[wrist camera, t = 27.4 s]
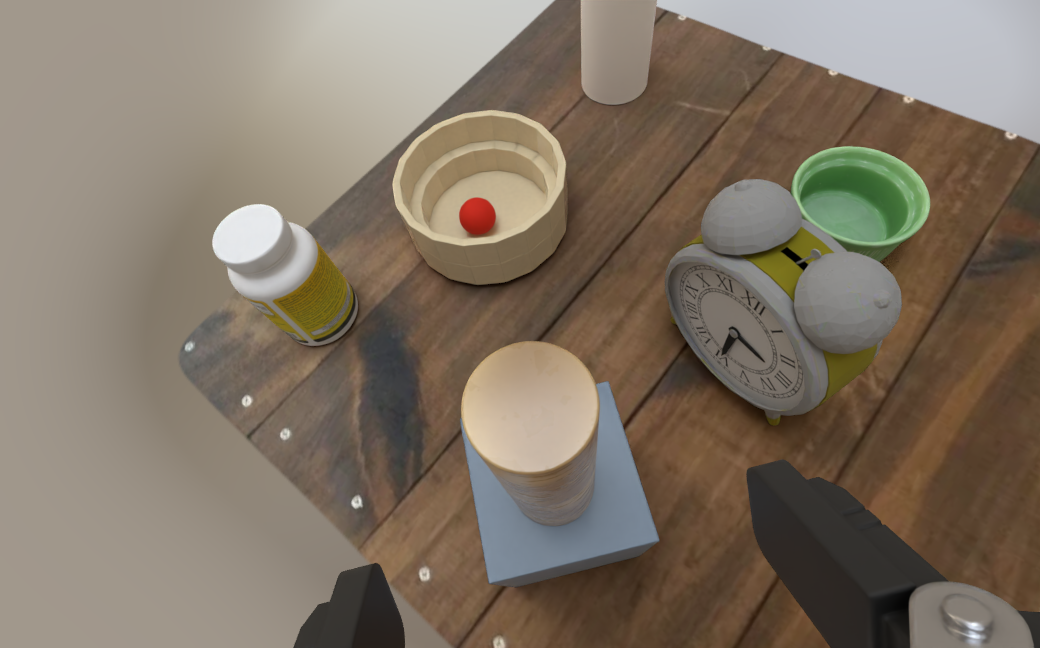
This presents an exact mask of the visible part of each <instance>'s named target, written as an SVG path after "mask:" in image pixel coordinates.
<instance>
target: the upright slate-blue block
mask: <svg viewBox="0 0 1040 648" xmlns="http://www.w3.org/2000/svg"><path fill="white" fill-rule="evenodd" d="M596 386H597V389H598V393H599V399H600V414H599V427H598V441H597V455H596V468H595V482H594V492H593V496H592V499H591V502H590V504H589V506H588V507H587V509H586V510H585V511H584V512H583V514H582V515H581V516H579V517H578V518H577V519H575V520H574V521H572V522H570V523H568V524H565V525H560V526H545V525H542V524H539V523H536V522H534V521H532V520H531V519H529V518H528V517H527V516H525V515H524V513H523V512H522V511H521V510H520V509H519V507H518V506H517V505H516V503H515V502H514V501H513V499H512V498H511V497H510V496H509V494H508V493H507V492H506V490H505V489H504V488H503V486H502V485H501V484H500V482H499V481H498V480H497V478H496V477H495V476H494V474H493V473H492V472H491V470H490V469H489V468H488V466H487V465H486V464H485V462H484V461H483V460H482V458H481V457H480V456H479V454H478V453H477V452H476V450H475V449H474V448H473V446H472V445H471V443H470V442H469V440H468V438H467V436H466V433H465V430H464V427H463V423H462V418H460V423H461V428H462V434H463V440H464V445H465V451H466V457H467V463H468V468H469V474H470V480H471V485H472V491H473V497H474V502H475V508H476V514H477V519H478V525H479V531H480V537H481V542H482V548H483V554H484V559H485V565H486V571H487V576H488V582H489V584H494V585H501V586H509V587H519V586H523V585H527V584H531V583H535V582H539V581H543V580H547V579H551V578H555V577H559V576H563V575H567V574H571V573H575V572H579V571H583V570H587V569H591V568H595V567H599V566H603V565H607V564H611V563H615V562H618V561H622V560H626V559H630V558H634V557H638V556H640V555H642V554H643V553H644V552H646V551H647V550H648V549H649V548H651V547H652V546H653V545H655V544H656V543H657V542H659V537H658V533H657V530H656V527H655V524H654V521H653V518H652V515H651V512H650V509H649V506H648V503H647V499H646V496H645V493H644V490H643V487H642V484H641V481H640V478H639V475H638V472H637V468H636V465H635V462H634V459H633V456H632V453H631V450H630V447H629V444H628V441H627V437H626V434H625V431H624V428H623V425H622V422H621V419H620V416H619V413H618V410H617V406H616V403H615V400H614V397H613V394H612V391H611V388H610V385H609V382H608V381H607V382H603V383H599V384H596Z"/></svg>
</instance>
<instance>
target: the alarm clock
mask: <svg viewBox="0 0 1040 648" xmlns="http://www.w3.org/2000/svg"><path fill="white" fill-rule="evenodd" d="M701 233H702V234H701V235H700V236H698V237H697V238H695V239H694V240H692V241H691V242H690V243H688V244H687V245H685V246H684V247H682V248H681V249H680V250H679V251H678V253H677V254H676V255H675V256H674V257H673V258H672V259H671V260H670V263H669V265H668V267H667V271H666V276H665V293H666V296H667V300H668V303H669V307H670V310H671V313H672V318H671V322H672V323H673V324H675V325H677V326H678V328H679V330H680V332H681V334H682V335H683V337H684V338H685V340H686V341H687V343H688V344H689V346H690V347H691V349H692V350H693V352H694V353H695V355H696V356H697V357H698V358H699V359H700V360H701V362H702V363H703V364H704V365H705V366H706V367H707V368H708V370H709V371H710V372H711V373H712V374H714V375H715V376H716V377H717V378H718V379H719V380H720V381H721V382H722V383H723V384H724V385H725V386H726V387H727V388H729V389H730V390H731V391H732V392H734V393H735V394H737V395H739V396H740V397H742V398H743V399H745V400H746V401H748V402H749V403H751V404H752V405H754V406H755V407H758V408H760V409H763V410H764V411H765V414H766V418H767V420H768V423H769V424H770V425H774V426H775V425H778V424H779V422H780V418H781V415H786V416H790V415H801V414H804V413H806V412H808V411H811V410H813V409H815V408H816V407H818V406H820V405H821V404H823V403H824V402H825V401H827V400H828V399H829V398H830V397H832V396H833V395H834V394H835V393H837V392H838V391H839V390H841V389H842V388H843V387H844V386H846V385H847V384H848V383H849V382H851V381H852V380H853V379H854V378H856V377H857V376H858V375H860V374H861V373H862V372H863V371H865V370H866V368H867V367H868V366H869V365H870V364H871V362H872V361H873V359H874V358H875V357H876V356H877V355H878V352H879V349H880V346H881V344H882V340H883V339H884V338H885V337H886V336H888V334H889V333H890V331H891V330H892V328H893V327H894V325H895V324H896V323H897V321H898V319H899V315H900V311H901V306H902V301H901V290H900V288H899V286H898V284H897V282H896V280H895V278H894V276H893V275H892V274H891V273H890V272H889V271H888V270H887V268H885V267H884V266H883V265H882V264H881V263H880V262H878V261H876V260H874V259H872V258H870V257H868V256H864V255H862V254H859V253H854V252H847V251H846V249H844V248H843V247H842V246H841V245H840V244H839V243H838V242H837V241H835V240H834V239H833V238H832V237H831V236H830V235H828V234H827V233H825V232H824V231H823V230H821V229H820V228H818V227H817V226H815V225H814V224H812V223H811V222H808V221H806V220H804V219H802V215H801V211H800V208H799V206H798V204H797V201H796V200H795V199H794V197H793V196H792V195H791V194H790V193H789V191H787V190H786V189H784V188H783V187H781V186H780V185H778V184H777V183H774V182H770V181H766V180H761V179H755V180H741V181H740V182H737V183H735V184H732V185H730V186H728V187H726V188H724V189H723V190H722V191H721V192H720V193H719V194H718V195H717V196H716V197H715V198H714V199H713V200H712V201H711V202H710V203H709V205H708V206H707V208H706V211H705V213H704V216H703V220H702V223H701Z"/></svg>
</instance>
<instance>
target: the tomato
mask: <svg viewBox="0 0 1040 648" xmlns="http://www.w3.org/2000/svg"><path fill="white" fill-rule="evenodd" d="M459 220H460V223H461V225H462V227H463V228H464V229H465V230H466V231H467V232H469V233H471V234H474V235H481V234H485V233H487V232H488V231H489V230H491V228H492V227H493V226H494V223H495V220H496V213H495V209H494V207H493V206H492V204H491V203H490V202H489V201H487V200H486V199H483V198H479V197H475V198H471V199H469V200H467V201H466V202H465V203H464V204H463V205H462V206H461V209H460V212H459Z"/></svg>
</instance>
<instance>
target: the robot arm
mask: <svg viewBox="0 0 1040 648" xmlns="http://www.w3.org/2000/svg"><path fill="white" fill-rule="evenodd" d="M747 484H748V491H749V499H750V507H751V515H752V522H753V529H754V533H755V537H756V539H757V542H758V545H759V547H760V549H761V551H762V553H763V555H764V556H765V558H766V559H767V561H768V562H769V564H770V565H771V566H772V568H773V569H774V570H775V572H776V573H777V575H778V576H779V577H780V579H781V580H782V581H783V583H784V584H785V585H786V587H787V588H788V590H789V591H790V592H791V594H792V595H793V596H794V598H795V599H796V601H797V602H798V603H799V605H800V606H801V607H802V609H803V610H804V611H805V613H806V614H807V616H808V617H809V618H810V620H811V621H812V622H813V624H814V625H815V626H816V628H817V629H818V631H819V632H820V633H821V635H822V636H823V637H824V639H825V640H826V642H827V643H828V644H829V646H830V647H831V648H1040V612H1027V611H1018V610H1015V609H1014V608H1013V607H1012V606H1011V605H1009V604H1008V603H1006V602H1005V601H1004V600H1002V599H1001V598H999V597H997V596H995V595H993V594H992V593H989V592H987V591H985V590H983V589H980V588H977V587H974V586H971V585H967V584H963V583H957V582H949V581H948V580H947V579H946V578H945V577H943V576H942V575H941V574H940V573H939V572H938V571H937V570H935V569H934V568H933V567H932V566H931V565H930V564H929V563H928V562H926V561H925V560H924V559H923V558H922V557H921V556H920V555H919V554H917V553H916V552H915V551H914V550H913V549H912V548H911V547H910V546H908V545H907V544H906V543H905V542H904V541H903V540H902V539H901V538H899V537H898V536H897V535H896V534H895V533H894V532H893V531H892V530H890V529H889V528H888V527H887V526H886V525H882V524H881V521H880V520H879V519H878V518H877V517H876V516H875V515H873V514H872V513H871V512H870V511H869V510H866V509H865V508H864V506H863V505H862V504H861V503H860V502H859V501H858V500H857V499H855V498H854V497H853V496H852V495H851V494H850V493H849V492H848V491H846V490H845V489H844V488H841V487H839V486H837V485H835V484H833V483H831V482H828V481H826V480H824V479H822V478H820V477H816V478H812V479H809V480H806V479H805V478H804V477H803V476H802V475H801V474H800V473H799V472H798V471H797V470H796V469H795V468H794V467H793V466H792V465H791V464H790V463H789V462H787V461H786V460H779V461H775V462H771V463H767V464H763V465H759V466H755V467H751V468H749V469H748V470H747ZM294 648H405V636H404V628H403V623H402V619H401V616H400V613H399V611H398V608H397V606H396V603H395V601H394V598H393V596H392V593H391V591H390V588H389V585H388V583H387V580H386V578H385V575H384V573H383V570H382V568H381V567H380V565H379V564H378V563H374V564H370V565H366V566H363V567H358V568H355V569H351V570H347V571H343V572H341V573H340V575H339V576H338V579H337V582H336V585H335V588H334V591H333V594H332V597H331V600H330V602H326V603H322V604H319V605H318V606H317V607H316V609H315V610H314V611H313V613H312V614H311V615H310V616H309V618H308V619H307V621H306V622H305V623H304V624H303V626H302V627H301V629H300V632H299V634H298V637H297V640H296V642H295V645H294Z"/></svg>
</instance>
